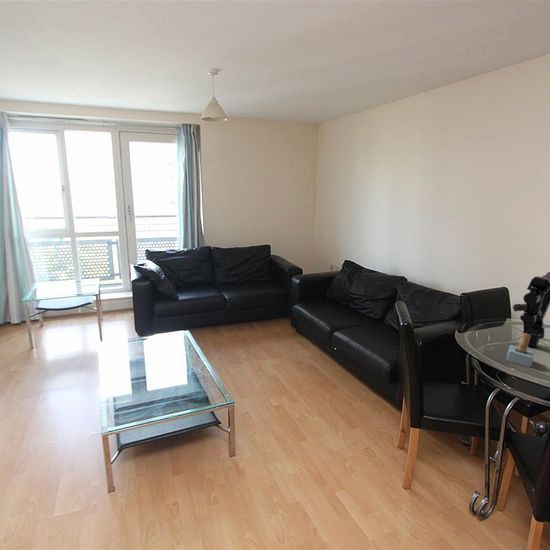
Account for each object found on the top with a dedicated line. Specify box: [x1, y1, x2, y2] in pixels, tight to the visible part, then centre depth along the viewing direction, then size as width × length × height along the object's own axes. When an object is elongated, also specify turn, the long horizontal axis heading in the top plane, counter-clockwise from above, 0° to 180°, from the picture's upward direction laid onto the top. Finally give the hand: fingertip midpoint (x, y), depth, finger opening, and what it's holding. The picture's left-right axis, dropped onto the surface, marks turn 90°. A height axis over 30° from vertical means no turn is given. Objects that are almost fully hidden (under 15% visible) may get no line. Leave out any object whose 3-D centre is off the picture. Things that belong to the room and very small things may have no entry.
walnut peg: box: [517, 332, 531, 354], centre depth 183 cm, size 4×4×13 cm
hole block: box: [506, 344, 535, 368], centre depth 185 cm, size 10×10×5 cm
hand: (526, 330), depth 194 cm, fingers open, 9 cm apart
